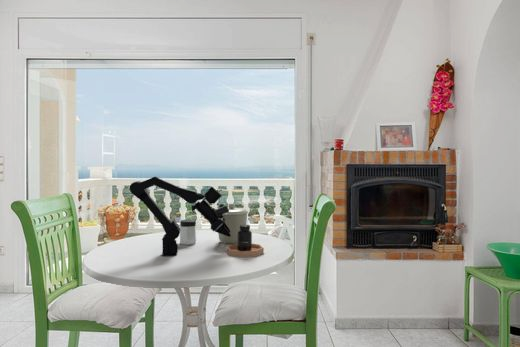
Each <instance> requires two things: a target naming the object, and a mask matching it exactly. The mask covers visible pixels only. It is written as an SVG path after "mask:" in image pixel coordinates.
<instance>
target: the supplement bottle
mask: <svg viewBox="0 0 520 347" xmlns="http://www.w3.org/2000/svg"><path fill="white" fill-rule="evenodd" d="M252 240H253V232H252V230H251V225H250V224H246V225H240V231H238V241H237V243H236V244H237V249H238V251H251V249H252V244H253V242H252Z"/></svg>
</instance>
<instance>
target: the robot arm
mask: <svg viewBox="0 0 520 347" xmlns="http://www.w3.org/2000/svg"><path fill="white" fill-rule="evenodd" d="M151 187H158V188H160V189H162V190H165V191H166V192H168V193H172V194H174V195H175V196H179V198H180V199H182V200H184V201H185V202H187V203H189V204H193V205H191V211H192V212H194V211H195V210H196V211H197V212H198V213H199V214H200V215H202V216H203V218H204V220H206V221H207V222H208V223H209V224H210V229H211V231H213V232H215V233H217V234H218V233H220V234H223V235H226V236H228V237H230V236H231V235H230V232H231V231H230V229H229V228H228V226H227V225H226V223H225V217H224V215H223V214H224V213H227V212H229V209H228V208H229V206H228V205H227V204H223V203H221V204H219V207H218V208H215V207H212V206H211V205H212V204H213V205H215V203H217V202H218V201H219V200H220V199H221V198H222V197H223V195H222V194H221V193H220V192H219V191H218V190H217V189H215V187H213V186H212V185H211V186H210V188H209V189H208V190H207V191H206V192H205V193H201V192H200V193H199V192H197V191H196V190H193V189H189V188H184V187H180V186H178V185H175V184H173V183H171V182H169V181H167V180H164V179H162V178H160V177H159V176H153V177H151V178H149V179H146V180H143V181H134V182H131V183H130V185H129V192H130V193H131V194H132V195H134V196H135V197H136V198H137V199H139V200H140V201H141V202H142V203H143V204H144V206H146V207H147V209H148V211H149V212H151V213H152V215H153V216H154V217H155V218H156V220H158V222H159V223H160V225H161V226H162V228H163V230H164V232H165V234H164V235H163V236H162V239H161V241H162V242H161V243H162V251H161V252H162V254H161V256H162V257H171V256H177V255H178V253H179V248H178V246H179V245H178V242H177V240H176V239H177V238H178V237H180V224H178V222H177V221H176V219H173V220H171V219H170V218H169V217H168V216H167V214H165V212H164V211H163V209H161V208H160V206H159V205H158V204H157V203H156V202H155V200H154V199H153V198H152V197H151V196H150V193H149V191H148V189H149V188H151ZM223 217H224V218H223ZM222 218H223V219H222Z"/></svg>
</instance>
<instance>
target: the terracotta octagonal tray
mask: <svg viewBox="0 0 520 347" xmlns="http://www.w3.org/2000/svg"><path fill="white" fill-rule="evenodd" d="M225 248H226V251H225V252H226V253H227V254H228V256H230V257H231V256H232V257H238V258H249V257H250V258H251V257H258V256H260V255H262V254H264V247H263V245H261V244H258V243H252V249H251V251H238V249H237V243H235V244H230V245H226V247H225Z"/></svg>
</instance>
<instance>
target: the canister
mask: <svg viewBox="0 0 520 347" xmlns="http://www.w3.org/2000/svg"><path fill="white" fill-rule="evenodd" d="M227 207H228V209H229V212H227V213H224V214H223V215H224V217H225V223H226V225H227V226H228V228H229V229H230V231H231V232H230V235H231V236H230V237H228V236H226V235H223V234H220V233H218V232H217V234H218V239H219V241H220V242H221V243H223V244H228V245H229V244H230V245H232V244H237V241H238V231H240V225H247V222H248V221H247V220H248V213H249V211H248V210H247V209H245V208H243V207H236V204H235V203H234V202H230V203H228V205H227ZM224 217H223V218H224ZM223 218H222V219H223Z"/></svg>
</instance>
